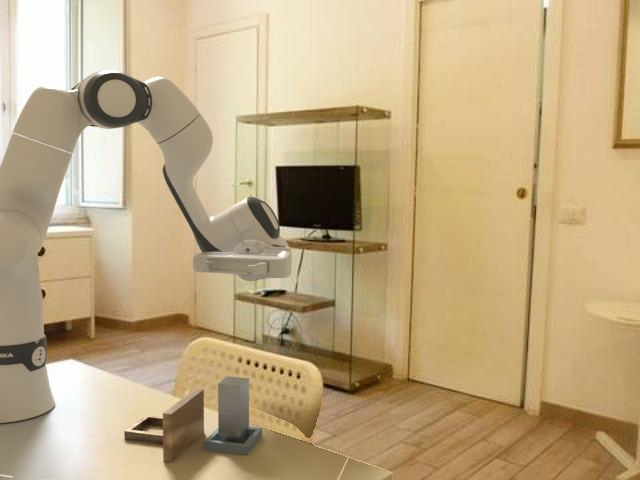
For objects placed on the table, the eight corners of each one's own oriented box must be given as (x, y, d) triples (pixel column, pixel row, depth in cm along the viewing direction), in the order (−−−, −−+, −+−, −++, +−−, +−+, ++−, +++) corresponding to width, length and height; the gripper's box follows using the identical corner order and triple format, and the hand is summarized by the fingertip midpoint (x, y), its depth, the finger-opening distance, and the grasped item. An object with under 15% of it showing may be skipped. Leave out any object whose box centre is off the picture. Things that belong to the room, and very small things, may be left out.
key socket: (124, 439, 107) (124, 431, 107) (147, 422, 114) (147, 414, 114) (164, 444, 105) (164, 435, 105) (184, 427, 112) (184, 419, 112)
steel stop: (218, 446, 104) (218, 383, 103) (227, 437, 108) (227, 376, 107) (240, 449, 103) (240, 385, 102) (248, 439, 107) (249, 378, 106)
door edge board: (163, 461, 99) (162, 413, 98) (196, 431, 110) (195, 388, 109) (171, 462, 98) (171, 414, 98) (204, 432, 110) (203, 389, 109)
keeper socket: (204, 449, 103) (204, 441, 103) (222, 431, 110) (222, 423, 110) (246, 455, 101) (246, 446, 101) (262, 436, 109) (262, 428, 108)
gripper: (208, 243, 134) (178, 250, 121) (298, 247, 129) (277, 254, 116) (208, 272, 135) (178, 282, 121) (298, 276, 130) (277, 287, 116)
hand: (227, 269), depth 118 cm, fingers open, 8 cm apart
